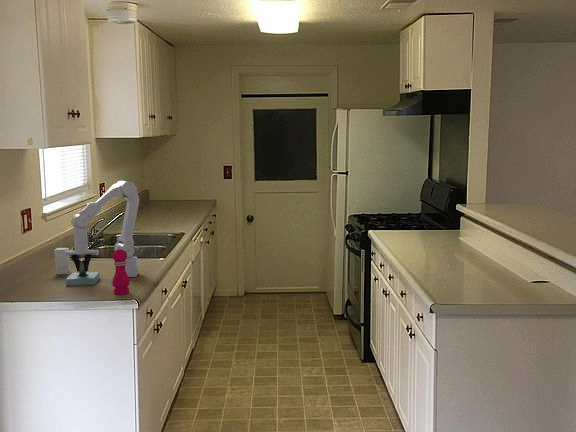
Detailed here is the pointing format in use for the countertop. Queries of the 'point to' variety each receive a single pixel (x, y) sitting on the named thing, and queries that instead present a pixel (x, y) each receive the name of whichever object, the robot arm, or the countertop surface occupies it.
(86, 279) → the socket block
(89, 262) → the robot arm
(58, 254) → the skincare box
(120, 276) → the pepper mill
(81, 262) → the metal peg
